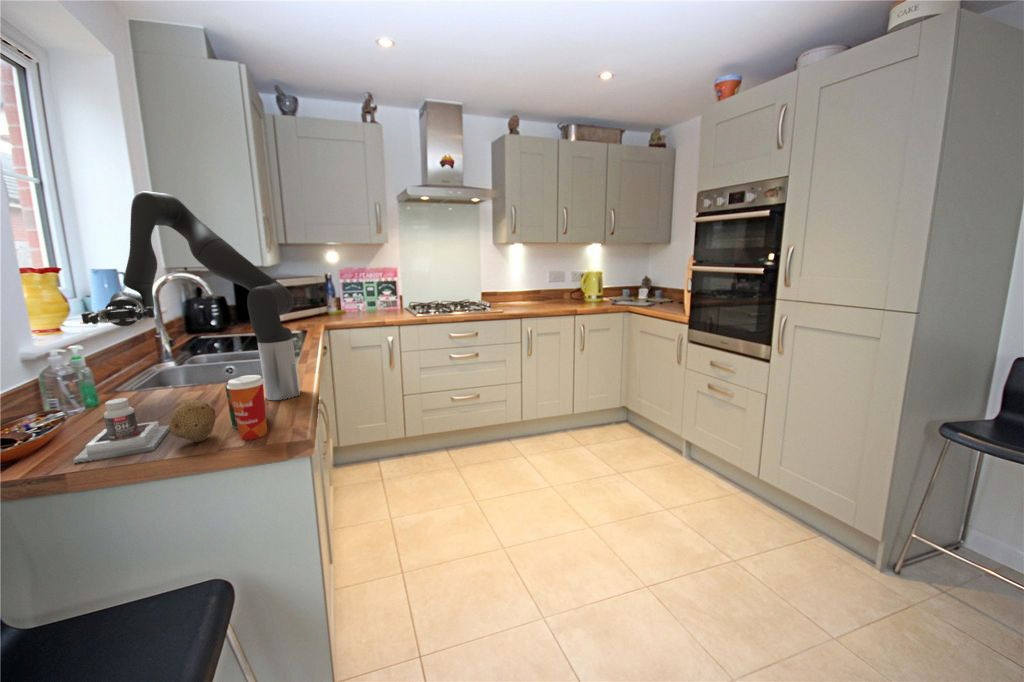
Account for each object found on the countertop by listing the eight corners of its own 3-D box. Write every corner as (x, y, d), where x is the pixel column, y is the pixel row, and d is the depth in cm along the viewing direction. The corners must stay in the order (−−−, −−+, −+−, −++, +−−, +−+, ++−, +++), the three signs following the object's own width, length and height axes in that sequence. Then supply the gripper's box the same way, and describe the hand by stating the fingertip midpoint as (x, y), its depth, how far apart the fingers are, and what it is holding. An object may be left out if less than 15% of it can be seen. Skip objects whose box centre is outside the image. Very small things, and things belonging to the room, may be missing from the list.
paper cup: (227, 439, 108) (217, 382, 105) (256, 427, 115) (247, 373, 112) (251, 443, 105) (242, 385, 102) (279, 430, 112) (271, 375, 109)
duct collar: (170, 428, 116) (168, 417, 116) (154, 450, 104) (151, 437, 103) (100, 439, 111) (97, 427, 110) (74, 463, 98) (70, 450, 98)
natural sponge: (173, 454, 101) (164, 411, 99) (172, 441, 108) (164, 400, 106) (221, 442, 107) (214, 401, 104) (218, 430, 114) (211, 392, 112)
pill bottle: (120, 446, 104) (111, 405, 102) (104, 444, 105) (94, 403, 103) (145, 437, 109) (137, 397, 107) (129, 434, 110) (120, 396, 108)
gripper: (87, 299, 123) (74, 305, 110) (154, 295, 131) (149, 299, 117) (94, 327, 125) (81, 336, 111) (159, 321, 132) (154, 328, 119)
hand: (116, 317), depth 114 cm, fingers open, 8 cm apart
